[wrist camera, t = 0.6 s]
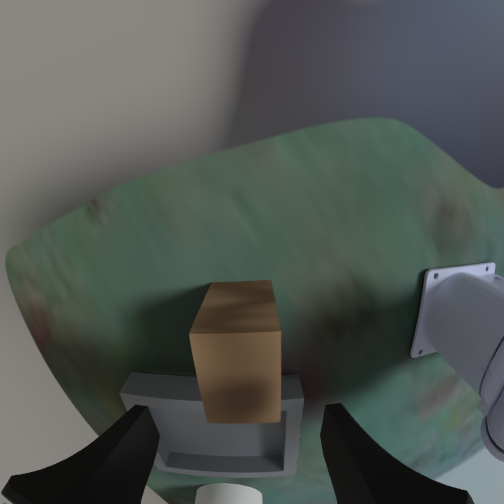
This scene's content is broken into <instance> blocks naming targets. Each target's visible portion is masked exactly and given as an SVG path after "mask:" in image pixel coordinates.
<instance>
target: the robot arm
mask: <svg viewBox="0 0 504 504" xmlns="http://www.w3.org/2000/svg"><path fill="white" fill-rule="evenodd" d="M494 272H495V263H493V262H486V263H479V264H471V265H463V266H454V267H445V268H436V269H429V270H428V271H426V273H425V277H424V285H423V292H422V298H421V304H420V310H419V315H418V320H417V325H416V330H415V335H414V339H413V343H412V347H411V351H410V355H411V357H413V358H416V357H420V356H424V355H427V354H431V353H434V352H438V353H439V354H440V355H441V356H442V357H443V358H444V359H445V360H446V361H447V362H448V363H449V364H450V365H451V366H452V367H453V368H454V369H455V371H456V372H457V373H458V374H459V375H460V376H461V377H462V378H463V379H464V380H465V381H466V382H467V383H468V384H469V385H470V386H471V387H472V388H473V390H474V391H475V392H476V393H477V394H478V395H479V396H480V397H481V401H480V404H479V406H478V409H479V410H480V411H481V412H482V413H483V414H484V418H483V421H482V424H481V435H482V439H483V442H484V444H485V446H486V448H487V449H488V451H489V452H490V453H491V454H492V455H493V456H494V457H495V458H497V459H498V460H500V461H503V462H504V278H503V277H501V276H498V275H496V274H494ZM435 273H436V276H435V277H434V274H435ZM420 350H421V351H420ZM419 351H420V352H419ZM320 437H321V443H322V449H323V455H324V458H325V462H326V465H327V468H328V472H329V475H330V478H331V481H332V485H333V488H334V491H335V495H336V499H337V503H338V504H474V502H473V500H472V498H471V496H470V495H469V493H468V492H467V491H466V490H461V489H458V488H454V487H451V486H447V485H444V484H442V483H439V482H437V481H434V480H432V479H430V478H428V477H426V476H424V475H422V474H420V473H418V472H416V471H414V470H412V469H411V468H409V467H407V466H406V465H404V464H403V463H401V462H400V461H398V460H397V459H396V458H394V457H393V456H392V455H390V454H389V453H388V452H387V451H386V450H384V449H383V448H382V447H381V446H380V445H379V444H378V443H376V442H375V441H374V440H373V439H372V438H371V437H370V436H369V435H368V434H367V433H366V432H365V431H364V430H363V428H362V427H361V426H360V425H359V424H358V423H357V422H356V421H355V420H354V418H353V417H352V416H351V415H350V414H349V412H348V411H347V410H346V409H345V407H344V406H343V405H342V404H341V403H336V404H330V405H325V411H324V417H323V423H322V428H321V433H320ZM159 439H160V434H159V432H158V429H157V427H156V425H155V422H154V420H153V417H152V415H151V413H150V410H149V407H148V406H143V405H137V404H135V405H134V406H133V407H132V408H131V409H130V410H128V411H127V412H126V413H125V414H124V415H123V416H122V417H121V418H120V419H119V420H118V421H117V422H116V423H114V424H113V425H112V426H111V427H110V428H109V429H108V430H107V431H105V432H104V433H103V434H102V435H101V436H99V437H98V438H97V439H96V440H95V441H93V442H92V443H91V444H89V445H88V446H86V447H85V448H84V449H82V450H81V451H79V452H77V453H76V454H74V455H73V456H71V457H69V458H67V459H65V460H63V461H61V462H58V463H56V464H54V465H52V466H49V467H46V468H44V469H41V470H37V471H34V472H30V473H25V474H20V475H14V476H11V477H10V479H9V481H8V482H7V484H6V485H5V487H4V488H3V490H2V492H1V493H2V495H3V496H4V497H5V498H6V499H8V500H9V501H10V502H11V503H12V504H141V499H142V496H143V492H144V489H145V486H146V483H147V480H148V477H149V475H150V472H151V469H152V466H153V463H154V460H155V457H156V454H157V449H158V444H159ZM3 504H6V503H3Z"/></svg>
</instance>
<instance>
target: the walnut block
mask: <svg viewBox="0 0 504 504" xmlns="http://www.w3.org/2000/svg"><path fill="white" fill-rule="evenodd" d="M189 337H190V343H191V349H192V354H193V359H194V365H195V370H196V375H197V379H198V384H199V389H200V393H201V398H202V402H203V407H204V411H205V415H206V419H207V423H224V424H247V423H272V422H280V417H281V328H280V323H279V318H278V313H277V307H276V302H275V297H274V292H273V287H272V282H271V280H263V281H241V282H216V283H211V285H210V287H209V289H208V291H207V294H206V296H205V298H204V300H203V303H202V305H201V307H200V309H199V312H198V314H197V316H196V318H195V321H194V323H193V325H192V328H191V330H190V332H189Z"/></svg>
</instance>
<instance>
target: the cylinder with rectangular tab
mask: <svg viewBox="0 0 504 504" xmlns="http://www.w3.org/2000/svg"><path fill="white" fill-rule="evenodd" d="M195 504H262V494H261V493H260V492H259V491H257V490H256V489H253V488H250V487H247V486H243V485H236V484H224V483H219V484H208V485H204V486H201V487H199V488H198V489H197V493H196V499H195Z"/></svg>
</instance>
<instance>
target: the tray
mask: <svg viewBox="0 0 504 504" xmlns="http://www.w3.org/2000/svg"><path fill="white" fill-rule="evenodd" d="M119 394H120V397H121V399H122V401H123V404H124V406H125V408H126V410H127V411H128V410H130V409H131V408H132V407H133V406H134V405H135V404H137V405H143V406H148V407H149V410H150V413H151V415H152V417H153V420H154V422H155V425H156V427H157V429H158V432H159V434H160V439H159V444H158V449H157V454H156V457H155V460H154V464H155V466H156V467H157V469H158V470H160V471H166V472H173V473H180V474H188V475H198V476H210V477H232V478H256V477H278V476H290V475H295V474H296V467H297V459H298V452H299V444H300V435H301V426H302V416H303V406H304V395H303V391H302V386H301V382H300V378H299V373H298V374H286V375H281V417H280V422H272V423H247V424H224V423H207V419H206V415H205V411H204V407H203V402H202V398H201V393H200V389H199V384H198V379H197V376H177V375H162V374H150V373H140V372H131V374H130V375H129V377H128V378H127V380H126V382H125V383H124V385H123V387H122V388H121V390H120V392H119Z"/></svg>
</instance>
